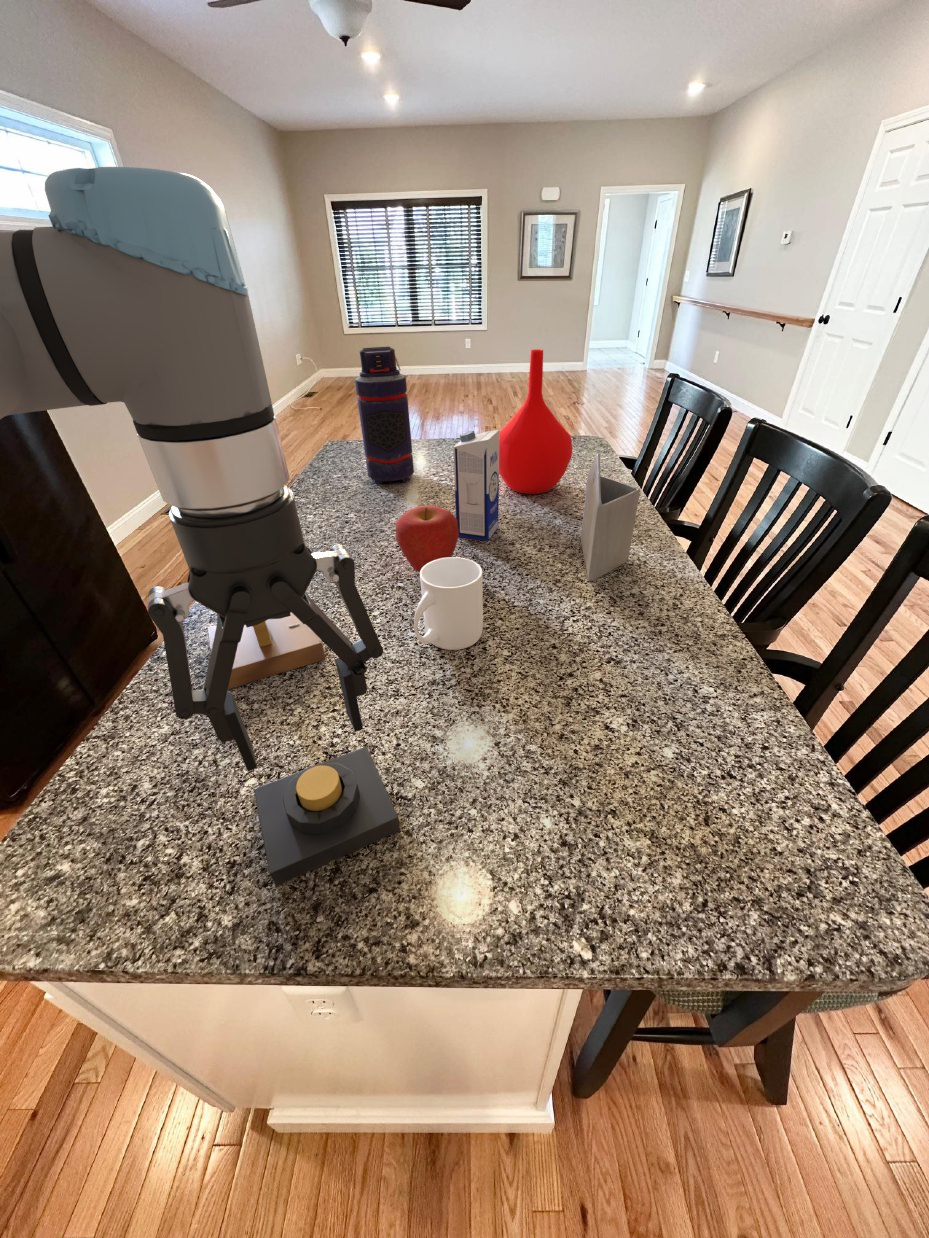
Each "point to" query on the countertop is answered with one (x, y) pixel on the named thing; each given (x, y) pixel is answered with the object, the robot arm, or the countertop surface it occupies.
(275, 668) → the plate
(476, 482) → the milk carton
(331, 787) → the button
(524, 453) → the vase
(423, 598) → the mug
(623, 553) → the planter
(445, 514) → the apple
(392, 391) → the navy water bottle
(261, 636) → the thumbturn
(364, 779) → the push button housing
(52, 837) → the countertop surface
